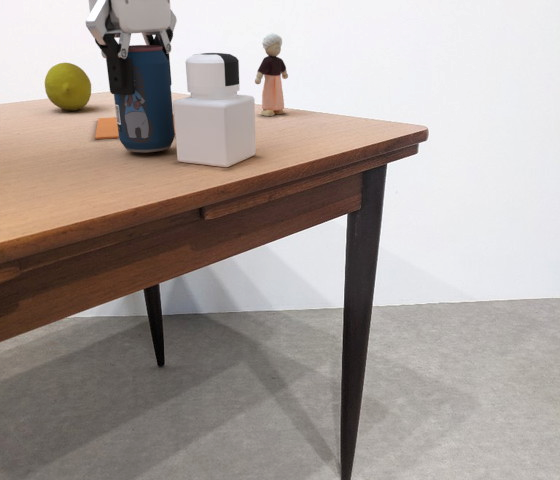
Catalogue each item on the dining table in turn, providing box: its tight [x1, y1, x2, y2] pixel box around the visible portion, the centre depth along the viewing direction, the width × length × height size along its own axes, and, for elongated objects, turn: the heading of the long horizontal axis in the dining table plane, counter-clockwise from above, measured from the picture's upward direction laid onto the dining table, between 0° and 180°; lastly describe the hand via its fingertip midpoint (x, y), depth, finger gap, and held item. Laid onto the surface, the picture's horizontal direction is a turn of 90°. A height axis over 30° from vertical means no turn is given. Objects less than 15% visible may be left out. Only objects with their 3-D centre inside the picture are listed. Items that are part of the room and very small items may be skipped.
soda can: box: [113, 44, 176, 153], centre depth 74 cm, size 7×7×12 cm
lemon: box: [44, 62, 92, 112], centre depth 107 cm, size 11×8×8 cm
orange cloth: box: [94, 114, 175, 140], centre depth 94 cm, size 22×16×1 cm
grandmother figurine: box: [254, 32, 289, 117], centre depth 100 cm, size 8×4×13 cm, turn 151°
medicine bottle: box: [172, 52, 257, 168], centre depth 71 cm, size 7×7×12 cm
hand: (142, 88), depth 74 cm, fingers closed on soda can, 7 cm apart
